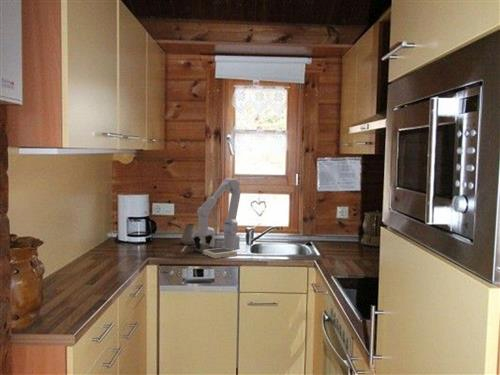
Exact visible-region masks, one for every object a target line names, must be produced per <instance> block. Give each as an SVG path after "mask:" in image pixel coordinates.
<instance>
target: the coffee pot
mask: <svg viewBox="0 0 500 375" xmlns="http://www.w3.org/2000/svg"><path fill="white" fill-rule="evenodd" d="M168 225H169V227H171V226H174V227H177V228H179V229H182V230H184V232H183V233H182V236H181V238H180V242H181V243H183V245H185V246H191V245H192V246H193V245H196V244H195V241H194V239H193V238H192V234H196V233H197V232H196V230H195V226H196V224H194V223H185V224H184V226H185V227H183V226H180V225H178V224H175V223H173V222H170V223H169V224H168Z"/></svg>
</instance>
